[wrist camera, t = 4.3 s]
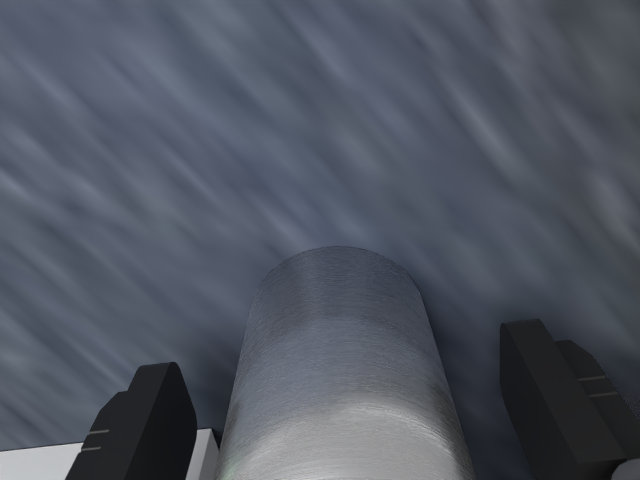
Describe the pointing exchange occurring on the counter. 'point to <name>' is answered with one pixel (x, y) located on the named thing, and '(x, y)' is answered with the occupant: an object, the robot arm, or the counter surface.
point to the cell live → (340, 379)
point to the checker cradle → (55, 461)
